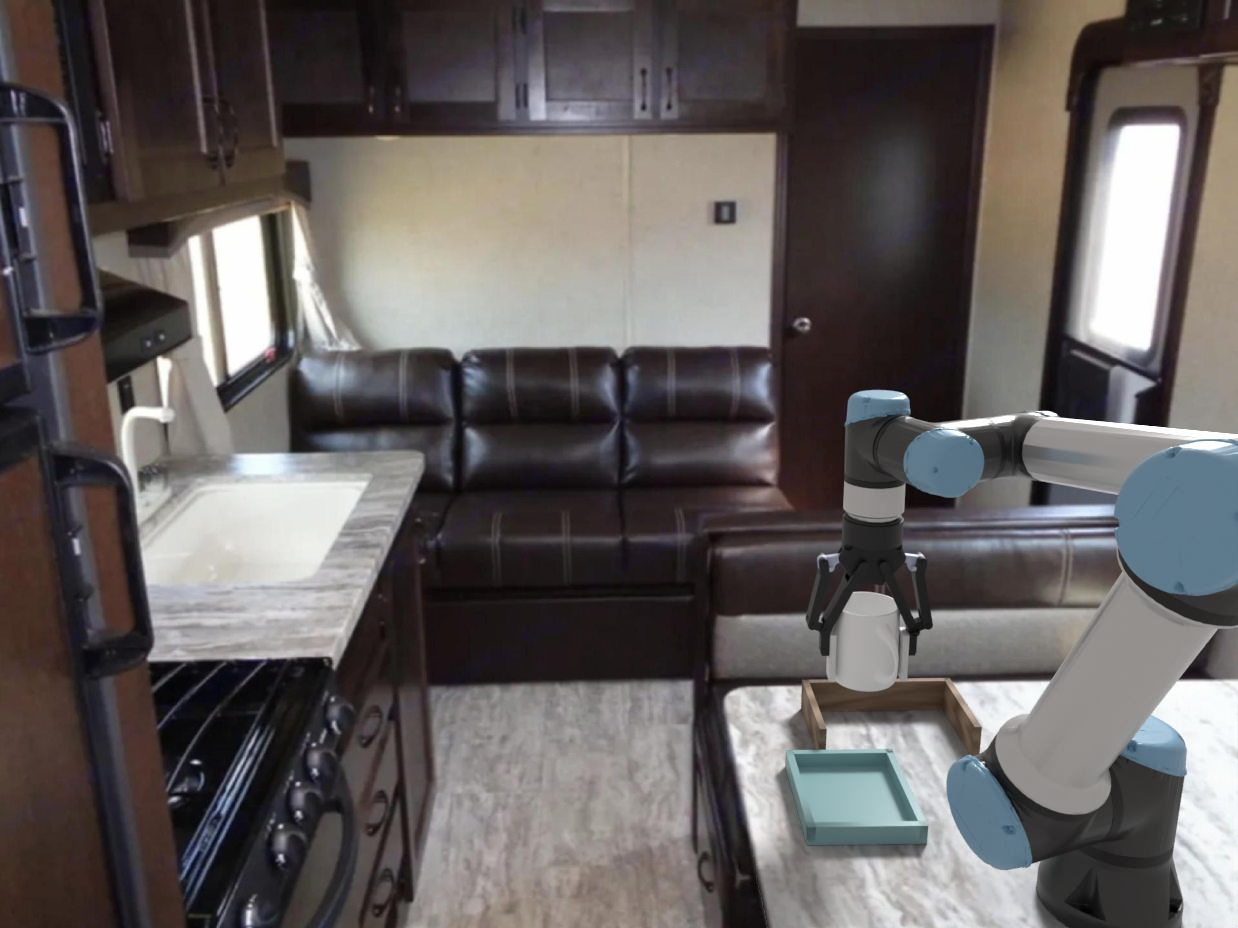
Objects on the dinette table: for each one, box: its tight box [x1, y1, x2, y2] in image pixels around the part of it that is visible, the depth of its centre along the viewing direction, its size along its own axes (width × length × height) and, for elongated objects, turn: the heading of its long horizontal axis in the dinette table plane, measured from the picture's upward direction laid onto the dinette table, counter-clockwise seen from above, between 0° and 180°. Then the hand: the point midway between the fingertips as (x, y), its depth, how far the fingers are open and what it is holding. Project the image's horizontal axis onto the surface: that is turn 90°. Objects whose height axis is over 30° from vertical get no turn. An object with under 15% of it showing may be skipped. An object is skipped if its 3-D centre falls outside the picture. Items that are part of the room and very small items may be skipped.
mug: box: [833, 591, 901, 692], centre depth 135 cm, size 9×12×11 cm
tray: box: [784, 748, 929, 846], centre depth 138 cm, size 18×15×3 cm
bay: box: [800, 677, 983, 756], centre depth 155 cm, size 15×23×5 cm, turn 90°
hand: (866, 676), depth 136 cm, fingers closed on mug, 9 cm apart
